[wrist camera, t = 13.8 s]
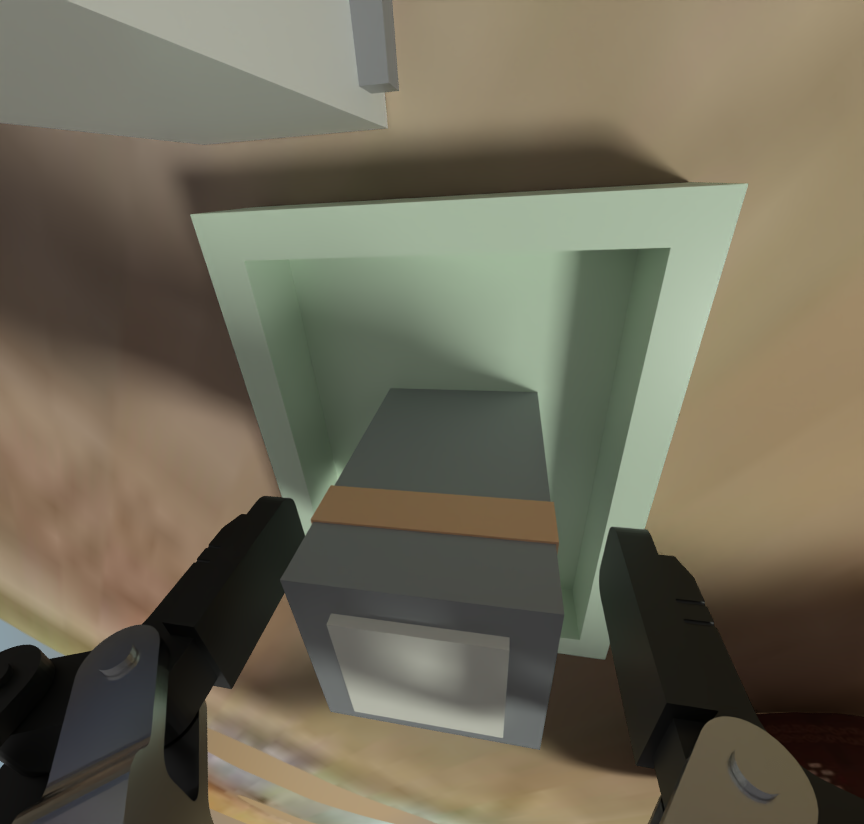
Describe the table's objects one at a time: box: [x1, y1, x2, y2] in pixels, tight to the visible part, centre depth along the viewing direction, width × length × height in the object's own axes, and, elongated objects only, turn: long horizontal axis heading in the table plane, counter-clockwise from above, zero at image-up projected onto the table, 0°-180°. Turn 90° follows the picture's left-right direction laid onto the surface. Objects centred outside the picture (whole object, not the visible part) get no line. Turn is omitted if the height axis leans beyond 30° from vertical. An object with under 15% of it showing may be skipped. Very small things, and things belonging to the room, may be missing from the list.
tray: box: [190, 182, 748, 660], centre depth 13 cm, size 11×15×3 cm
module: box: [280, 388, 564, 750], centre depth 10 cm, size 5×5×7 cm
